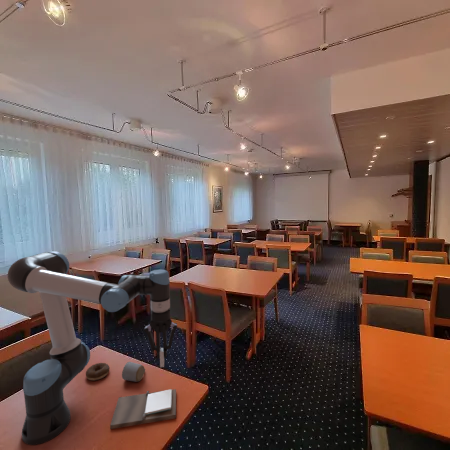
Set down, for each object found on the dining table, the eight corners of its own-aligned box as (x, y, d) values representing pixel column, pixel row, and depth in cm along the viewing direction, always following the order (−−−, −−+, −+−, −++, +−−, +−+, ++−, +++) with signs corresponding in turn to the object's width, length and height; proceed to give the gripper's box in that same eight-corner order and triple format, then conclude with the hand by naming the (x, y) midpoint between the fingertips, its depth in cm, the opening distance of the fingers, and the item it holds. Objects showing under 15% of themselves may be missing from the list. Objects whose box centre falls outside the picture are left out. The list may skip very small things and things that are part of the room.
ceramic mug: (137, 385, 119) (136, 369, 118) (121, 383, 121) (121, 367, 120) (149, 371, 129) (148, 356, 128) (134, 369, 131) (134, 354, 130)
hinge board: (110, 429, 96) (110, 422, 96) (118, 400, 110) (118, 395, 110) (175, 418, 101) (175, 412, 100) (176, 392, 114) (175, 386, 114)
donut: (80, 379, 124) (80, 371, 124) (98, 366, 134) (97, 359, 134) (97, 384, 120) (97, 376, 120) (114, 370, 130) (114, 363, 130)
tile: (170, 407, 102) (171, 409, 102) (171, 389, 112) (171, 391, 112) (144, 413, 100) (145, 415, 100) (147, 394, 110) (148, 396, 110)
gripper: (142, 314, 98) (144, 373, 100) (177, 311, 100) (178, 368, 102) (144, 306, 105) (146, 361, 108) (177, 304, 108) (178, 357, 110)
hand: (162, 364), depth 105 cm, fingers closed
